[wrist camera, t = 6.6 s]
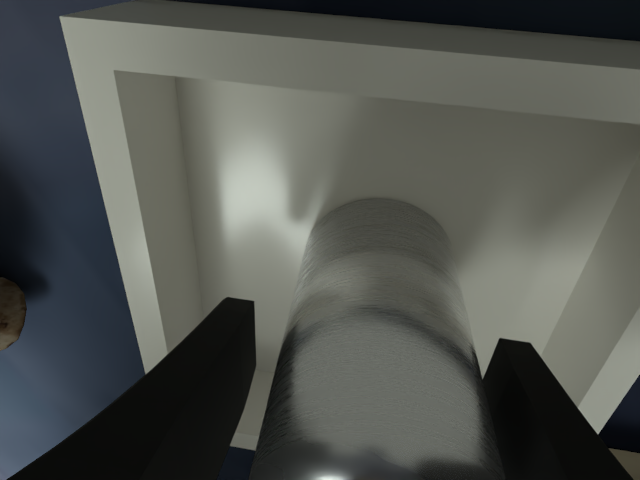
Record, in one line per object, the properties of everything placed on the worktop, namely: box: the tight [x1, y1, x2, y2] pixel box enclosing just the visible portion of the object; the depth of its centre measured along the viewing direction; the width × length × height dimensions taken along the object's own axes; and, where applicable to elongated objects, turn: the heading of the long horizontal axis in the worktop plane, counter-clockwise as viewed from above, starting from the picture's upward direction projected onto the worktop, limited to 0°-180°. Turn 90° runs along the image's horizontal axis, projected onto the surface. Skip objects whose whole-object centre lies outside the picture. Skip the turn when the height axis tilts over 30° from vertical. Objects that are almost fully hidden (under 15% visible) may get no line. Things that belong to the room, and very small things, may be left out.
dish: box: [59, 0, 640, 451], centre depth 12 cm, size 12×12×3 cm
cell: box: [248, 198, 506, 480], centre depth 9 cm, size 4×4×7 cm
